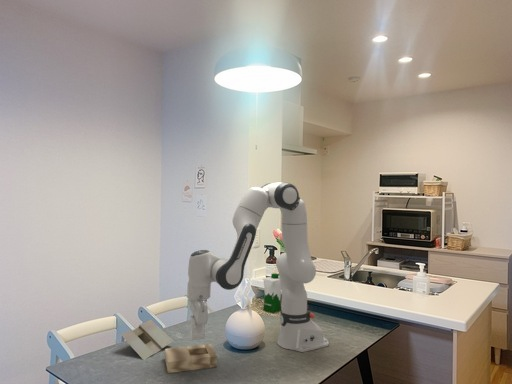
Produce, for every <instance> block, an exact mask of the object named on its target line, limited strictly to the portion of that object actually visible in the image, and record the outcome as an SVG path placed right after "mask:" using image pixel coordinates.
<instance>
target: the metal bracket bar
mask: <svg viewBox="0 0 512 384" xmlns="http://www.w3.org/2000/svg"><path fill="white" fill-rule="evenodd" d="M189 324H190V327H189V337H190V341H196V340H205V337H206V336H205V335H206V334H205V333H206V324H203V325H202V331H199V332H198V331H197V330H196V326H197V322H196V320H195V318H194V316H193V315H190V323H189Z"/></svg>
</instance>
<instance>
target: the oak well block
mask: <svg viewBox="0 0 512 384" xmlns="http://www.w3.org/2000/svg"><path fill="white" fill-rule="evenodd" d="M217 360H218V356H217V354H216V352H215V349H214V348H213V346H212V344H211V343H205V344H197V345H196V344H195V345H187V346H179V347H169V348H165V349H164V361H165V365H166V371H167V374H171V373H180V372H186V371H193V370H203V369H209V368H217V365H218V364H217V362H218V361H217Z"/></svg>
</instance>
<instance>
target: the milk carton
mask: <svg viewBox="0 0 512 384" xmlns="http://www.w3.org/2000/svg"><path fill="white" fill-rule="evenodd" d="M262 280H263V285H264V290H263V291H264V296H263V300H264V301H263V309H262V310H263V311H264V312H268V313H269V314H275V313H278V312H281V310H282V292H281V285H280V279H279V273H274V272H273V273H271V276H267V277H264V278H263V279H262Z"/></svg>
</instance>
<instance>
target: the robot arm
mask: <svg viewBox="0 0 512 384" xmlns="http://www.w3.org/2000/svg"><path fill="white" fill-rule="evenodd" d="M268 208H272V209H278V210H280V213H281V241H282V244H283V246H284V250H285V252H282V253H280V254H279V255H278V256H277V258H276V261H275V265H276V269H277V272H278V274H279V279H280V285H281V311H280V313H279V315H280V316H279V321H280V322H279V324H280V326H279V327H280V329H279V333H278V338H277V342H276V343H277V344H278V346H279V347H281V348H283V349H287V350H291V351H297V352H300V353H305V352H308V351H313V350H316V349H321V348H322V349H323V348H325V347H326V348H327V347H329V343H330V342H329V340H328V339H327V338H326V337H325V336H324V333H323V330H322V328H321V327H320V326H319V325H318V324H317V323H316V322H315V321H313V319H315V317H316V315H315V314H314V313H313V312H310V311H308V293H307V290H306V289H305V285H304V284H309V283H311V282H312V281H313V280H314V279H315V277H316V273H317V269H316V266H315V264H314V262H313V260H312V256H311V252H310V248H309V247H310V246H309V242H308V215H307V207H306V203H305V201H304V200H303V199H301V197H300V195H299V191H298V188H297V187H296V185H294V184H292V183H290V182H282V181H281V182H280V181H278V182H277V181H276V182H271V183H270V182H269V183H266V184H264V185H262V186H261V187H259V186H252V187H250V188H248V190H247V191H246V192H245V194H244V196H243V197H242V198H241V199H240V202H239V203H238V205H237V207H236V209H235V211H234V213H233V217H232V225H233V227H234V229H235V231H236V237H237V238H236V241H235V244H234V246H233V249H232V251H231V254H230V256H229V258H228V259H226V258H224V257H220V256H218V255H216V254H214V253H212V252H211V251H209V250H207V249H201V250H196V251H194V252H192V253H191V254H190V257H189V259H188V267H187V268H188V269H187V275H188V282H187V291H186V292H187V294H186V296H187V299H188V301H189V302H188V303H189V304H188V305H189V310H190V311H191V313H192V316H194V318H195V320H196V322H197V326H196V330H197V331H198V332H199V331H202V325H203V324H205V325H207V324H208V319H209V318H208V316H209V315H208V314H209V313H208V312H209V309H208V308H209V306H208V299H210V298H211V290H212V289H211V286H212V285H211V284H212V283H217V285H218V286H220V287H221V288H222V289H224V290H228V291H229V290H235V289H237V288H238V287H239V286H240V284H241V283H242V282H243V279H244V275H245V274H244V272H245V265H246V263H247V259H248V258H249V255H250V252H251V250H252V247H253V246H254V245H253V244H254V242H255V238H256V235H257V231H258V227H259V225H260V223H261V220H262V219H263V217H264V214H265V212H266V211H267V209H268Z"/></svg>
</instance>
